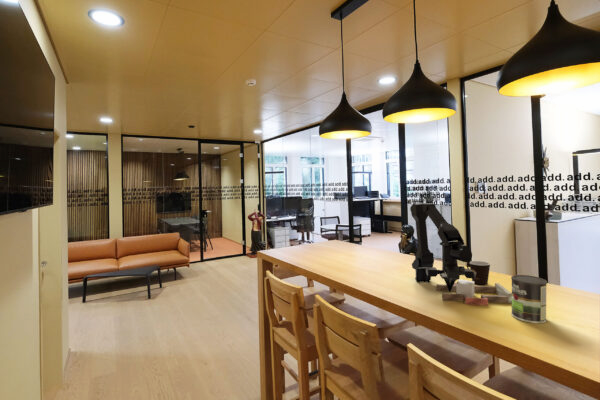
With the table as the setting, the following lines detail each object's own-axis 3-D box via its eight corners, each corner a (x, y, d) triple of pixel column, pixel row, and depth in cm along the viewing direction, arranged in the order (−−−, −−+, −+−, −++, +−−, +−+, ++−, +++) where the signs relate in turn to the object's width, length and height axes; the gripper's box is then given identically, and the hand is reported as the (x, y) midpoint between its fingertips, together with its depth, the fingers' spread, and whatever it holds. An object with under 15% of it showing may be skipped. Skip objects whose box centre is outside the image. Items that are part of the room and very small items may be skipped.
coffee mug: (493, 286, 144) (493, 265, 144) (473, 286, 146) (473, 265, 145) (483, 279, 155) (483, 259, 155) (465, 278, 157) (465, 259, 157)
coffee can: (527, 324, 105) (527, 284, 105) (504, 312, 115) (504, 275, 115) (554, 322, 106) (554, 282, 105) (530, 310, 116) (529, 274, 116)
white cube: (474, 295, 134) (474, 281, 134) (471, 299, 130) (472, 285, 129) (459, 292, 138) (459, 279, 138) (456, 296, 133) (456, 282, 133)
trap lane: (444, 303, 126) (444, 293, 126) (434, 287, 146) (434, 278, 146) (516, 306, 120) (516, 296, 120) (495, 289, 140) (495, 280, 140)
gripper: (429, 260, 129) (430, 296, 129) (479, 262, 124) (478, 299, 125) (425, 254, 140) (425, 288, 140) (470, 256, 135) (470, 290, 136)
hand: (449, 291), depth 135 cm, fingers closed
